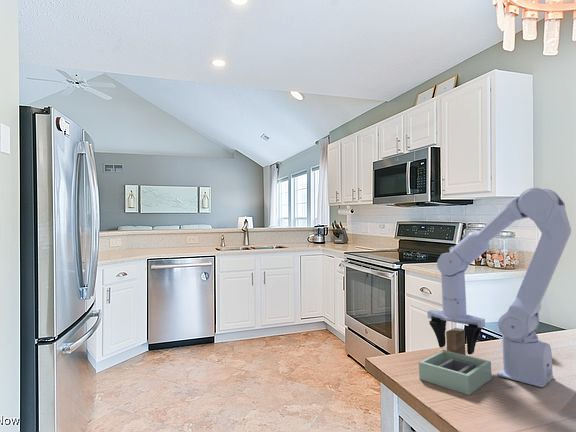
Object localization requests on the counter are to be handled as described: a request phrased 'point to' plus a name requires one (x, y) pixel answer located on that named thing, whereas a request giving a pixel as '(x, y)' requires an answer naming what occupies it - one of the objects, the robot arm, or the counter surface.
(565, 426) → the counter surface
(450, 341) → the wood grain brick
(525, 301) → the robot arm
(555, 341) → the counter surface
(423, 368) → the sage green storage tray
